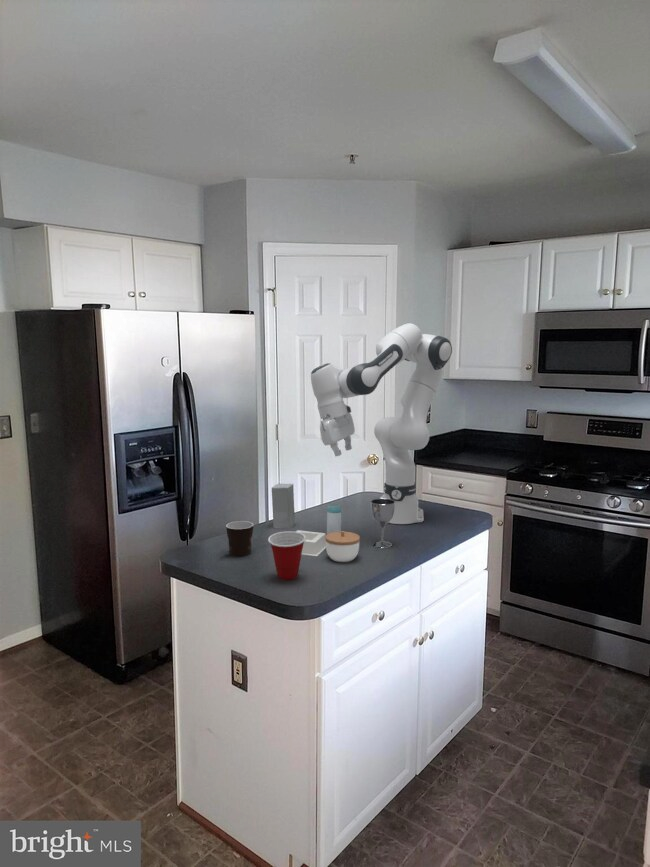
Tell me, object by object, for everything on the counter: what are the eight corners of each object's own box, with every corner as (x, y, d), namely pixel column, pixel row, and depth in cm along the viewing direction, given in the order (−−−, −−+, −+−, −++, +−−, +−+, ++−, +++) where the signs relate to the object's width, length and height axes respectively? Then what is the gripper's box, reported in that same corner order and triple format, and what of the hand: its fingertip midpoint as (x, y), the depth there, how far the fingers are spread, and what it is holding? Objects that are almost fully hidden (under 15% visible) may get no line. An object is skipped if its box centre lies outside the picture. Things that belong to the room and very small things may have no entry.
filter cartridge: (329, 538, 211) (330, 504, 209) (342, 539, 209) (343, 506, 207) (324, 542, 206) (325, 508, 204) (338, 544, 205) (338, 509, 203)
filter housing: (295, 542, 206) (295, 529, 205) (329, 546, 202) (329, 532, 201) (281, 554, 195) (281, 539, 194) (317, 558, 191) (317, 543, 190)
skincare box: (290, 531, 219) (289, 488, 216) (270, 529, 220) (270, 487, 218) (295, 524, 227) (295, 482, 224) (277, 523, 228) (277, 482, 226)
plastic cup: (261, 580, 173) (261, 539, 171) (279, 567, 183) (279, 529, 181) (295, 586, 169) (295, 545, 167) (312, 573, 179) (312, 533, 177)
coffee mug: (246, 561, 188) (245, 530, 186) (221, 558, 191) (220, 527, 189) (262, 549, 199) (262, 520, 197) (239, 546, 202) (238, 517, 200)
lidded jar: (351, 553, 196) (351, 524, 195) (365, 564, 186) (365, 534, 185) (320, 556, 192) (320, 528, 191) (332, 568, 182) (332, 538, 181)
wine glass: (377, 539, 210) (378, 497, 207) (398, 543, 205) (399, 500, 203) (365, 545, 203) (366, 501, 201) (386, 550, 199) (387, 505, 196)
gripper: (329, 415, 191) (340, 457, 192) (352, 406, 209) (362, 445, 210) (311, 419, 193) (323, 461, 194) (336, 410, 212) (346, 448, 213)
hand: (343, 452), depth 202 cm, fingers open, 8 cm apart
